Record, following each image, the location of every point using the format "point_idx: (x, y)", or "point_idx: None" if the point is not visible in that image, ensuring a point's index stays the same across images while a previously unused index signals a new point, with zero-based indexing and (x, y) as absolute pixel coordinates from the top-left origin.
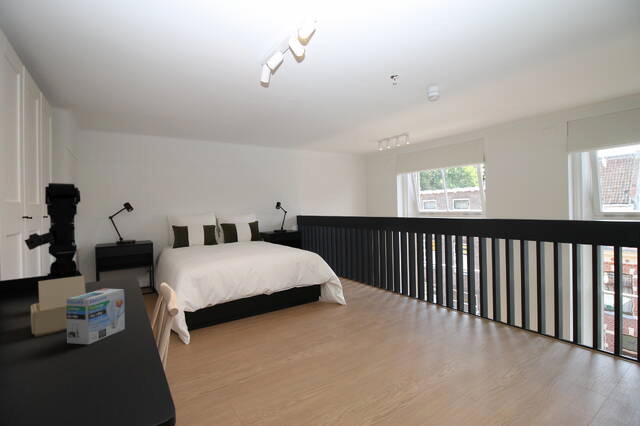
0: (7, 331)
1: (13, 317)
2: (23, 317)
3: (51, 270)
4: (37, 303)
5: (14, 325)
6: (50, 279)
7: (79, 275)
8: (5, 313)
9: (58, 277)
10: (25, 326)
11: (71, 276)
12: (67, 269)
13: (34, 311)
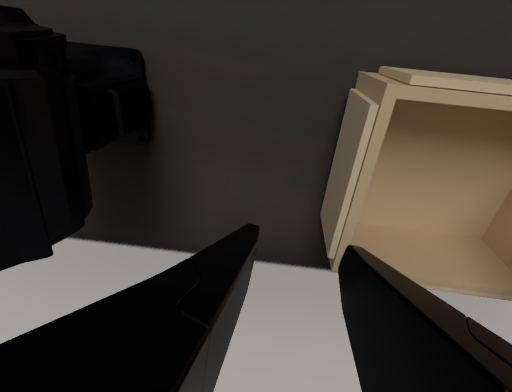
0: (322, 266)
1: (149, 234)
2: (175, 218)
3: (12, 263)
4: (338, 260)
5: (266, 247)
6: (80, 228)
7: (16, 40)
8: (69, 238)
9: (70, 195)
10: (312, 234)
11: (57, 113)
12: (393, 275)
13: (498, 293)
